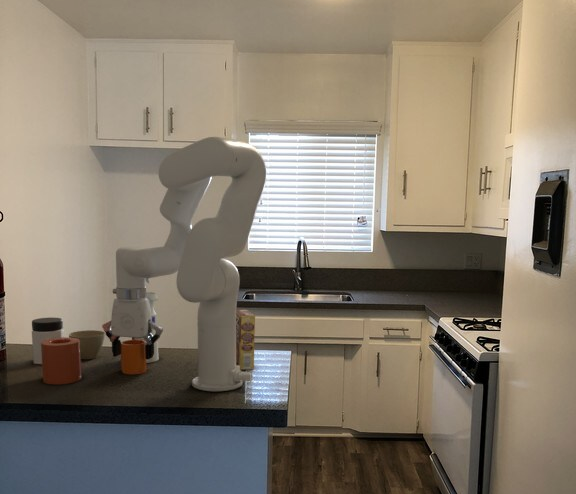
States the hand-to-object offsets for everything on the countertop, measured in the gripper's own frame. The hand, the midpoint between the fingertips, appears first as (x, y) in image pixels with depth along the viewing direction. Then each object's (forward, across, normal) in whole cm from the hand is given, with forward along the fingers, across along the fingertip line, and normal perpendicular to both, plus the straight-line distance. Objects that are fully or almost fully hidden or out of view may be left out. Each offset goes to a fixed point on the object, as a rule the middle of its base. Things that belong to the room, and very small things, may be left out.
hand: (133, 356), depth 168 cm
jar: (+4, -28, +3) cm, 28 cm away
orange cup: (+4, 0, 0) cm, 4 cm away
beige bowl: (+4, -20, +10) cm, 22 cm away
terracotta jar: (+4, -14, -12) cm, 19 cm away
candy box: (+4, +27, +13) cm, 30 cm away
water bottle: (+4, -3, +12) cm, 13 cm away
